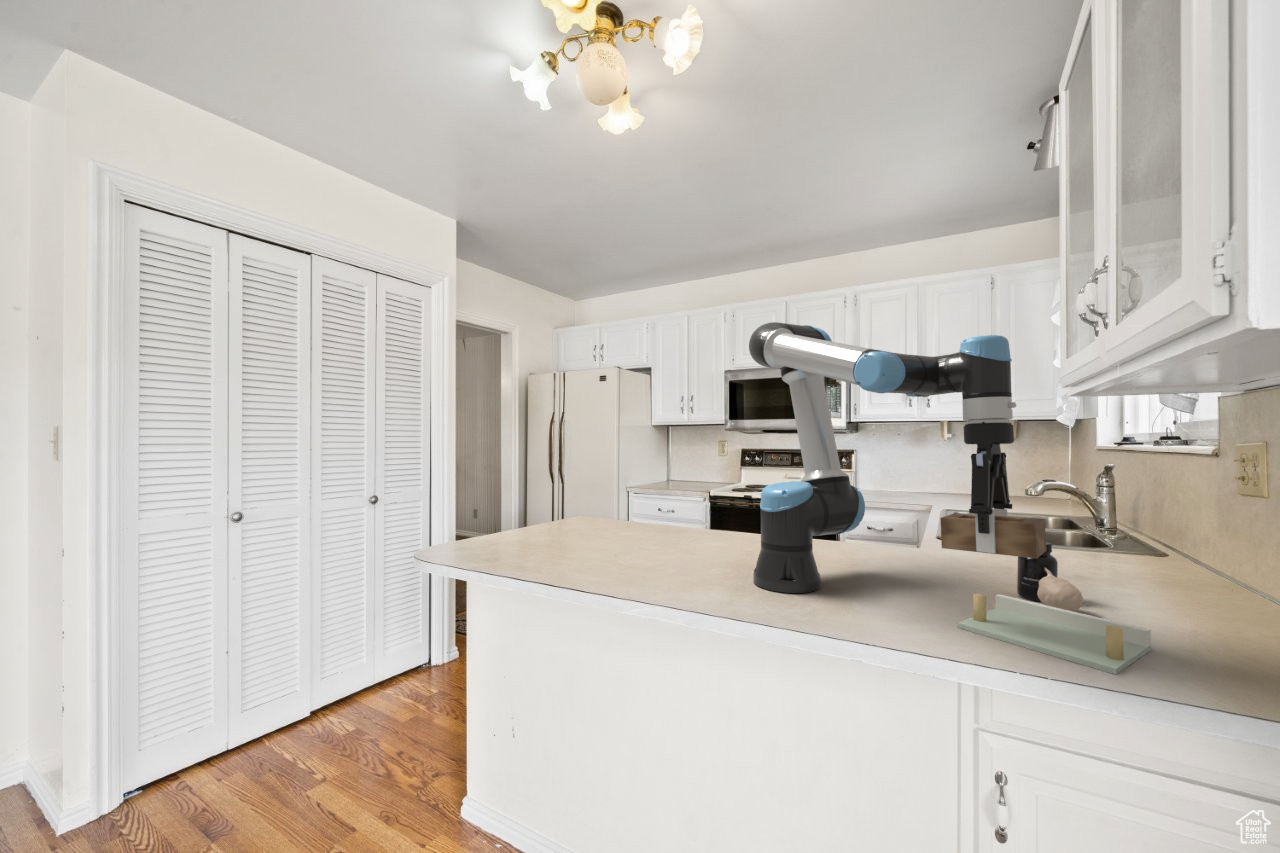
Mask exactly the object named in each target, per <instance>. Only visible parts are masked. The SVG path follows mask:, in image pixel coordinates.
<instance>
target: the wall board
mask: <svg viewBox="0 0 1280 853" xmlns="http://www.w3.org/2000/svg"><path fill="white" fill-rule="evenodd" d="M972 596H973V598H972V599H973V600H972V602H973V603H972V604H973V605H972V606H973V607H972V608H973V610H972V611H973V613H972V614H973V616H972V617H969V618H967V619H964V620H960V621H959V622H957V623H956V624H957V626H956V627H957V628H958V629H962V630H965V631H968V632H972V633H976V634H979V635H982V636H986V637H988V638H989V637H990V638H992V639H995V640H998V641H1002V642H1005V643H1009V644H1012V645H1016V646H1019V647H1022V648H1026V649H1029V650H1032V651H1035V652H1036V651H1037V652H1039V653H1042V654H1046V655H1048V656H1053V657H1056V658H1059V659H1063V660H1067V661H1070V662H1073V663H1076V664H1080V665H1083V666H1087V667H1090V668H1094V669H1097V670H1100V671H1102V672H1103V671H1104V672H1106V673H1110V674H1112V675H1113V674H1114V675H1117V674H1119V673H1120V672H1122V671H1123V670H1124V669H1126V668H1127V667H1129V666H1130V665H1131V664H1133V663H1134V662H1136V661H1137V660H1139V659H1140V658H1142V657H1143V656H1145V655H1146V654H1147V653H1149V652H1150V651H1151V650H1152V647H1151V646H1152V642H1151V641H1152V639H1151V638H1152V637H1151V636H1152V634H1151V633H1152V632H1151V629H1150V628H1145V627H1141V626H1137V625H1132V624H1128V623H1124V622H1120V621H1116V620H1113V619H1111V620H1110V619H1107V618H1102V617H1099V616H1095V615H1089V614H1085V613H1081V612H1077V611H1075V612H1073V611H1069V610H1064V609H1060V608H1056V607H1051V606H1047V605H1044V604H1043V603H1038V602H1035V601H1031V600H1029V601H1028V600H1027V599H1021V598H1016V597H1012V596H1009V595H1008V596H1007V595H1003V594H996V595H995V598H994V599H995V600H994V601H995V608H993V609H989V610H987V595H985V594H982V593H973V594H972Z"/></svg>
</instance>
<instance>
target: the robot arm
mask: <svg viewBox="0 0 1280 853" xmlns="http://www.w3.org/2000/svg"><path fill="white" fill-rule="evenodd" d="M748 342H749V343H748V350H749V353H750V356H751V358H752V359H753V361H754V362H756V364H758V365H760V366H762V367H766V368H770V369H780V375H781V380H782V381H783V382H784V383H786V384H787V385H789V386H788V387H789V392H790V396H791V403H792V408H793V414H794V419H795V426H796V430H797V437H798V441H799V442H798V443H799V448H800V452H801V453H800V454H801V459H802V464H803V472H804V475H803V477H802V478H801V480H800V481H798V480H797V481H795V480H793V481H787V482H786V481H781V482H776V483H772V484H769V485H766V486H764V487H763V489H762V490H761V493H760V503H759V507H760V508H759V509H760V552H759V554H758V558H757V562H756V566H755V568H754V569H753V573H752V574H753V579H752V580H753V584H754V585H755V586H757V587H759V588H761V589H764V590H768V591H773V592H779V593H787V594H788V593H789V594H790V593H791V594H803V593H804V594H805V593H810V592H815V591H818V590H820V589H821V587H822V585H821V584H822V579H821V578H822V577H821V574H820V572H819V570H818V565H817V562H816V560H815V556H814V553H813V537H817V536H818V537H819V536H826V535H840V534H844V533H846V532H847V533H848V532H850V531H854V530H855V529H857V528H858V526H860V523H861V522H862V521H863V520H864V516H865V511H866V502H865V499H864V496H863V494H862V492H861V491H860V490H858V488H857V487H856V486H854V485H851V481H850V475H849V474H847V473H846V472H845V471H843V470H842V468H841V463H840V459H839V458H840V457H839V453H838V448H837V444H836V438H835V432H834V428H833V422H832V417H831V413H830V412H831V411H830V407H829V402H828V396H827V391H826V386H825V382H824V377H825V378H829V379H833V380H837V381H840V382H845V383H848V384H852V385H856V386H859V387H860V388H861V389H862V390H864V391H866V392H871V393H877V394H902V395H903V394H905V395H906V396H907V397H913V398H915V397H918V398H919V397H920V398H921V397H923V398H925V397H926V398H927V397H930V396H937V395H947V394H954V393H961V394H962V400H961V402H962V420H963V422H966V423H965V424H964V425H963V442H964V444H965V445H976V453H971V454H970V455H971V456H970V459H971V489H970V490H971V491H970V492H971V494H970V496H971V498H970V500H971V501H970V508H969V509H968V512H969V513H968V514H975V528H976V551H977V552H976V553H981V552H986V553H985V554H990V553H996V543H995V519H994V516H1006V517H1009V516H1008V510H1012V509H1013V503H1011V499H1010V492H1009V484H1008V473H1007V472H1008V471H1007V454H1006V452H1002V449H1001V445H1008V444H1014V443H1015V442H1014V441H1015V432H1014V427H1015V426H1014V424H1013V423H1012V422H1009V421H1011V420H1013V419H1014V418H1013V414H1014V413H1013V409H1014V408H1016V407H1017V403H1016V401H1015V402H1014V401H1013V398H1012V396H1013V395H1012V394H1013V393H1012V372H1011V371H1012V369H1011V362H1012V360H1013V359H1012V358H1011V349H1010V342H1009V340H1008V338H1007V337H1006V336H1003V335H996V334H994V335H992V334H990V335H980V336H979V335H978V336H972V337H969V338H966V339H962V341H961V342H960V346H959V349H958V350H959V351H958V352H955V353H954V352H953V353H951V354H943V355H937V356H926V355H918V354H917V355H916V354H905V353H897V352H891V351H885V350H881V349H873V348H868V347H863V346H858V345H852V344H846V343H841V342H836V341H832V338H831V336H830V335H829V334H828V333H827V332H826V331H825V330H824V329H821V328H820V327H816V326H812V325H808V324H807V325H806V324H803V325H801V324H794V323H793V324H792V323H783V322H778V321H777V322H776V321H775V322H767V323H763V324H762V325H760V326H758V328H756V329H755V330H754V331H753V332H752V334H751V336H750V338H749V341H748Z"/></svg>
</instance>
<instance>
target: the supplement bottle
mask: <svg viewBox="0 0 1280 853" xmlns="http://www.w3.org/2000/svg"><path fill="white" fill-rule="evenodd" d="M1052 546H1053V545H1052V543H1051V542H1048V541H1046V550H1047V551H1045V552H1044V553H1043V554H1042V555H1041V556H1040V557H1038V558H1037V559H1036V558H1027V557H1018V556H1017V583H1016V584H1017V586H1016V589H1017V590H1016V591H1017V592H1016V593H1017V595H1018V596H1019V597H1020V598H1022V599H1024V600H1027V601H1028V600H1029V601H1031V602H1036V603H1038V602H1039V603H1042V602H1041V601H1040V599H1039V598H1038V595H1037V592H1038V589H1039V581H1040V580H1041V579H1042V578H1043V577H1046V576H1047V575H1048V573H1047V572H1046V571H1045V570H1046V569H1048V570H1049V571H1050V572H1051V573H1052V575H1053V576H1055V577H1058V574H1059V573H1058V572H1059V571H1058V567H1059V566H1058V564H1059V563H1058V559H1057V558H1056V557H1055V556H1053V555H1052V554H1051V553H1053V550H1052V548H1053V547H1052ZM1045 568H1046V569H1045ZM1044 569H1045V570H1044Z"/></svg>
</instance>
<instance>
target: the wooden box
mask: <svg viewBox="0 0 1280 853" xmlns="http://www.w3.org/2000/svg"><path fill="white" fill-rule="evenodd" d="M939 519H940V538H941V542H940V543H941V549H945V550H946V549H947V550H956V551H964V552H974V553H978V552H977V551H976V528H975V514H972V513H958V512H955V513H950V514H948V515H945V516H941V517H940V518H939ZM994 519H995V543H996V553H989V554H993V555H1001V556H1010V557H1017V558H1018V557H1027V558H1036V559H1037V558H1038V557H1040V556H1041V555H1042V554H1043V553H1044V552H1045V551H1047V550H1046V542H1047V535H1046V532H1047V531H1046V519H1045V518H1037V517H1035V518H1034V517H1019V516H1018V517H1017V516H1008V517H1006V516H994ZM980 553H983V554H987V553H986V552H980Z"/></svg>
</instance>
